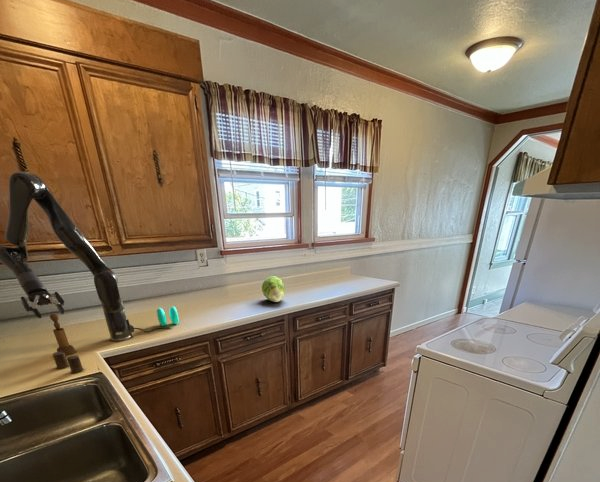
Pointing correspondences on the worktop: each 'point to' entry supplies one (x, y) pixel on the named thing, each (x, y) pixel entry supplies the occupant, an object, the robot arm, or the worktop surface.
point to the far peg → (75, 364)
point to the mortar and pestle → (61, 337)
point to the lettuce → (273, 289)
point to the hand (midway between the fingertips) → (51, 315)
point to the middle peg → (60, 360)
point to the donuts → (162, 316)
